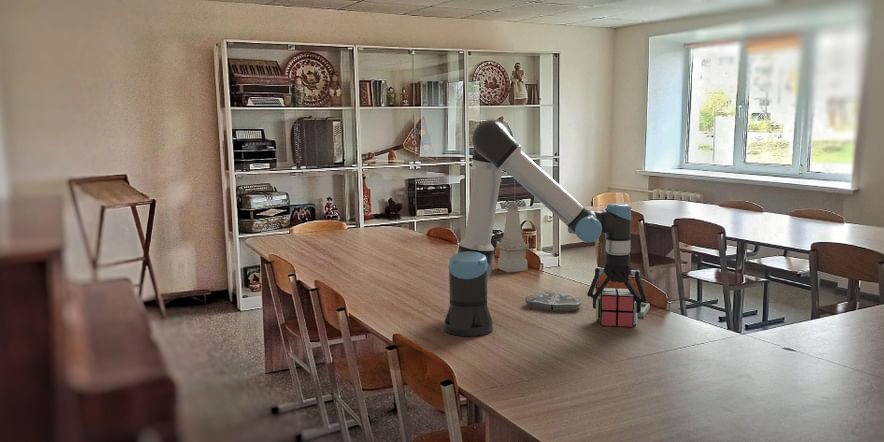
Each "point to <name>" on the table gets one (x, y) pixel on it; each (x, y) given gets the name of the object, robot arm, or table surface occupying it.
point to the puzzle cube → (616, 307)
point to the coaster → (643, 309)
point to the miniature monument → (512, 244)
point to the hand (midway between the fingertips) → (616, 320)
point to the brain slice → (553, 301)
